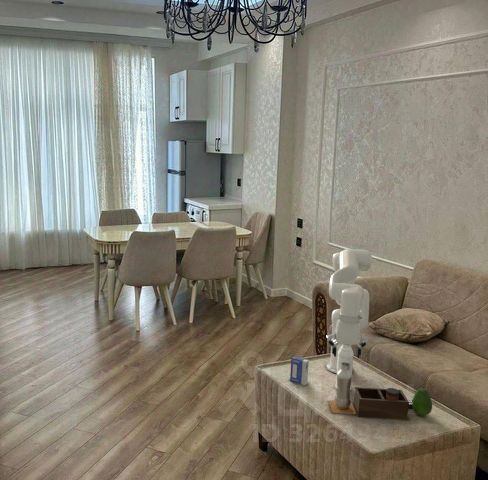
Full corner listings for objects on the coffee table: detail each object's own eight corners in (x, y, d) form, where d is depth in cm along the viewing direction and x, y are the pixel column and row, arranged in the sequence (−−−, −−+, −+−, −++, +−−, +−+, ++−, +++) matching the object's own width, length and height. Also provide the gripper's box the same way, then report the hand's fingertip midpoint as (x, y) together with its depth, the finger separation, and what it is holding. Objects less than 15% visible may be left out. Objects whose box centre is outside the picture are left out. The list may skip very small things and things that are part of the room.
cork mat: (328, 401, 240) (328, 400, 239) (351, 403, 239) (351, 402, 238) (332, 413, 230) (332, 412, 230) (356, 414, 229) (356, 413, 229)
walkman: (290, 380, 259) (291, 357, 257) (292, 378, 261) (293, 355, 259) (305, 385, 255) (306, 361, 252) (307, 383, 257) (309, 359, 255)
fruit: (435, 419, 226) (438, 393, 223) (417, 420, 224) (420, 394, 222) (424, 409, 233) (427, 384, 231) (407, 411, 232) (410, 385, 230)
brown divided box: (353, 403, 238) (354, 386, 236) (399, 406, 236) (401, 389, 234) (358, 416, 227) (359, 399, 226) (407, 419, 225) (409, 402, 224)
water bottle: (351, 393, 247) (355, 342, 242) (335, 391, 249) (339, 340, 244) (350, 386, 254) (354, 336, 249) (334, 384, 255) (338, 335, 250)
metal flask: (352, 410, 232) (356, 366, 228) (338, 411, 230) (341, 367, 226) (346, 402, 238) (349, 360, 234) (331, 403, 237) (334, 361, 233)
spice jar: (383, 408, 234) (385, 387, 232) (395, 409, 233) (397, 388, 231) (386, 414, 229) (388, 393, 227) (398, 415, 228) (400, 393, 226)
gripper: (368, 315, 229) (365, 353, 233) (326, 314, 230) (324, 351, 234) (372, 322, 221) (368, 360, 225) (329, 320, 223) (326, 358, 227)
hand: (346, 355), depth 230 cm, fingers open, 9 cm apart
